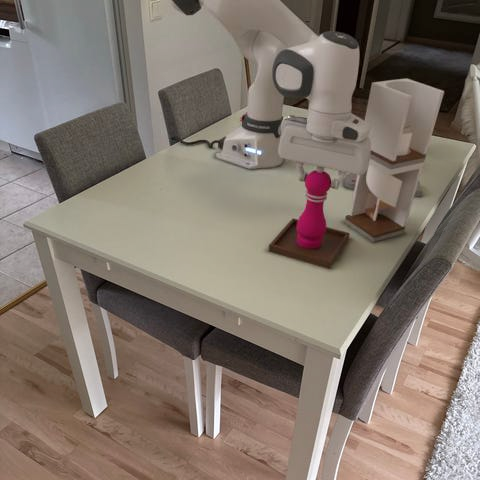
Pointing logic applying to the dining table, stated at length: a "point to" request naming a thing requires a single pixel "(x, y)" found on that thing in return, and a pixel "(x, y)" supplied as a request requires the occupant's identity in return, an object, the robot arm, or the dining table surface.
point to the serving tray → (319, 256)
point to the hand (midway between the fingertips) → (318, 184)
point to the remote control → (351, 178)
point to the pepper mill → (313, 210)
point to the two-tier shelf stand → (393, 156)
